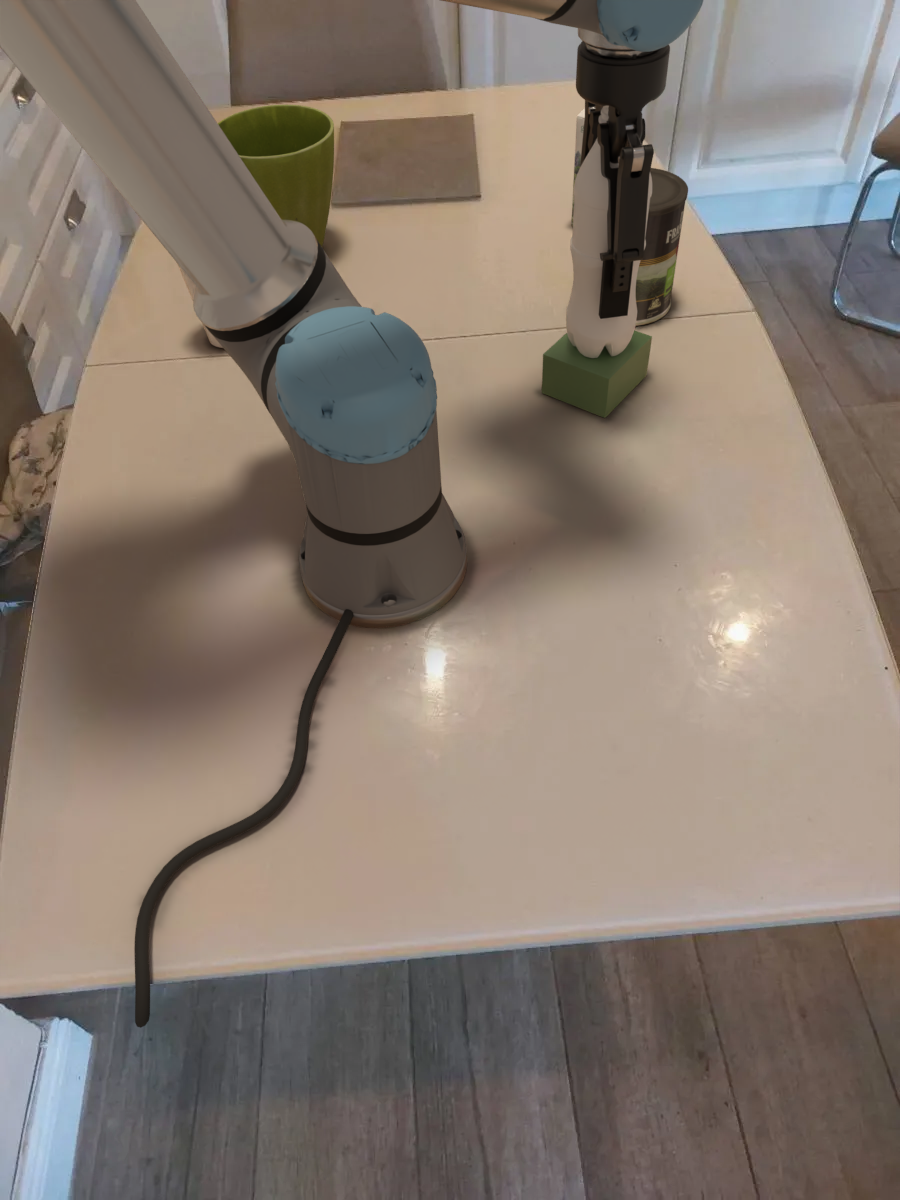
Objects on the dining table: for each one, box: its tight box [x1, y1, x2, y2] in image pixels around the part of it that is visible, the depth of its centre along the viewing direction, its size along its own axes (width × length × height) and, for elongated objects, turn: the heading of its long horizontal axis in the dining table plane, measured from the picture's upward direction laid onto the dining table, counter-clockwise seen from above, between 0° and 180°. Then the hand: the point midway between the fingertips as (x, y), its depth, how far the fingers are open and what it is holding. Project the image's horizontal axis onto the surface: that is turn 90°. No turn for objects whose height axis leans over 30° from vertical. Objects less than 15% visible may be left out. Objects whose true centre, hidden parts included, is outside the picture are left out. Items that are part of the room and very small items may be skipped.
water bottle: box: [565, 106, 652, 358], centre depth 87 cm, size 7×7×25 cm
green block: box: [541, 330, 653, 419], centre depth 98 cm, size 9×8×5 cm
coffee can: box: [635, 167, 689, 327], centre depth 105 cm, size 10×10×14 cm
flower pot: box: [217, 104, 335, 247], centre depth 115 cm, size 15×15×16 cm
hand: (602, 293), depth 92 cm, fingers closed on water bottle, 7 cm apart
